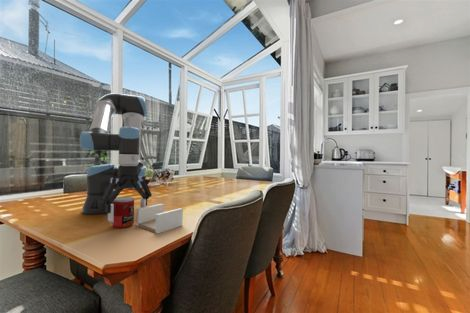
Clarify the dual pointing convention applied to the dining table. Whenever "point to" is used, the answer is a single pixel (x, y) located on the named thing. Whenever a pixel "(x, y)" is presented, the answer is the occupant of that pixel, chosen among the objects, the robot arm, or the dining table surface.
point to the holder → (158, 218)
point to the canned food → (123, 212)
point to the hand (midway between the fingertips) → (127, 217)
